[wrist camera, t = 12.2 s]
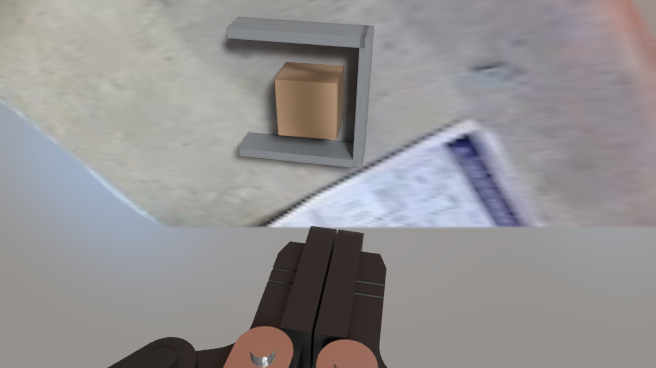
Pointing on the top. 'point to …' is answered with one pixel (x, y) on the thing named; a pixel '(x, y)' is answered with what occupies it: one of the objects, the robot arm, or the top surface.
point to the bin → (347, 151)
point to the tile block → (309, 100)
